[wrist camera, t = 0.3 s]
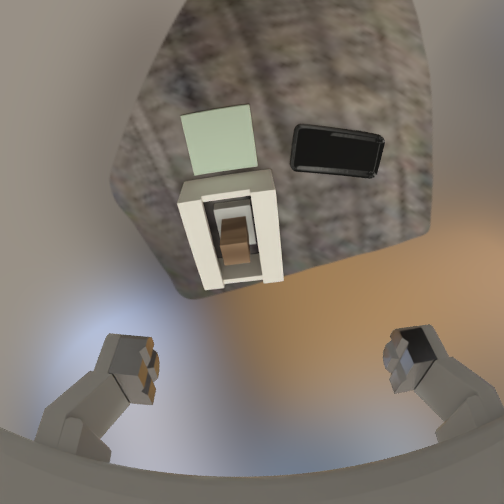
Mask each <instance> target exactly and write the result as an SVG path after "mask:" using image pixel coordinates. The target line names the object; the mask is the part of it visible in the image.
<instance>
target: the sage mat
mask: <svg viewBox="0 0 504 504" xmlns="http://www.w3.org/2000/svg"><path fill="white" fill-rule="evenodd" d="M181 120H182V125H183V129H184V133H185V138H186V142H187V146H188V151H189V155H190V159H191V163H192V167H193V172H194V176H195V175H201V174H207V173H213V172H220V171H227V170H233V169H241V168H248V167H256V166H258V165H257V157H256V150H255V143H254V135H253V128H252V121H251V114H250V107H249V104H245V105H238V106H231V107H224V108H218V109H212V110H206V111H201V112H195V113H190V114H185V115H181Z"/></svg>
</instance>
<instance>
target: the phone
mask: <svg viewBox="0 0 504 504" xmlns="http://www.w3.org/2000/svg"><path fill="white" fill-rule="evenodd" d="M384 144H385V140H384V138H383V137H381V136H380V135H377V134H373V133H368V132H361V131H353V130H347V129H340V128H332V127H325V126H316V125H307V124H299V125H297V126H296V127H295V129H294V135H293V143H292V151H291V158H290V166H291V168H292V170H294V171H296V172H309V173H321V174H332V175H342V176H352V177H361V178H369V179H370V178H374V177H375V176H376V174H377V172H378V168H379V164H380V160H381V156H382V152H383V148H384Z"/></svg>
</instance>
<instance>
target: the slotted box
mask: <svg viewBox="0 0 504 504" xmlns="http://www.w3.org/2000/svg"><path fill="white" fill-rule="evenodd" d="M250 195H251V201H252V207H253V214H254V221H255V228H256V234H257V241H258V248H259V253H258V254H250V263H242V264H234V265H225V264H224V260H223V258H217V255H216V251H215V247H214V243H213V240H212V236H211V232H210V228H209V224H208V220H207V216H206V212H205V208H204V204H203V202H207V201H214V200H221V199H228V198H235V197H243V196H250ZM177 204H178V208H179V211H180V214H181V218H182V221H183V224H184V227H185V231H186V234H187V237H188V240H189V243H190V247H191V250H192V253H193V256H194V259H195V262H196V265H197V268H198V271H199V274H200V277H201V280H202V283H203V286H204V289H205V290H209V289H219V288H224V284H227V283H236V282H245V281H254V280H262V279H263V282H264V283H271V282H279V281H283V267H282V255H281V243H280V232H279V221H278V211H277V200H276V190H275V185H274V181H273V176H272V172H271V169H265V170H257V171H250V172H242V173H235V174H228V175H221V176H214V177H208V178H202V179H196V180H190V181H184V184H183V187H182V190H181V193H180V196H179V199H178V203H177ZM214 214H215V219H216V223H217V227H218V231H219V236H220V237H221V223H222V219H227V218H235V217H243V216H246V221H247V227H248V233H249V244H256V237H255V230H254V223H253V217H252V210H251V204H250V199H245V200H237V201H230V202H223V203H216V204H214Z"/></svg>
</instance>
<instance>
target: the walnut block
mask: <svg viewBox="0 0 504 504" xmlns="http://www.w3.org/2000/svg"><path fill="white" fill-rule="evenodd" d="M220 248H221V252H222V256H223V260H224V264H225V265H234V264H242V263H250V246H249V233H248V227H247V221H246V216H243V217H235V218H227V219H222V223H221V237H220Z"/></svg>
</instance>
